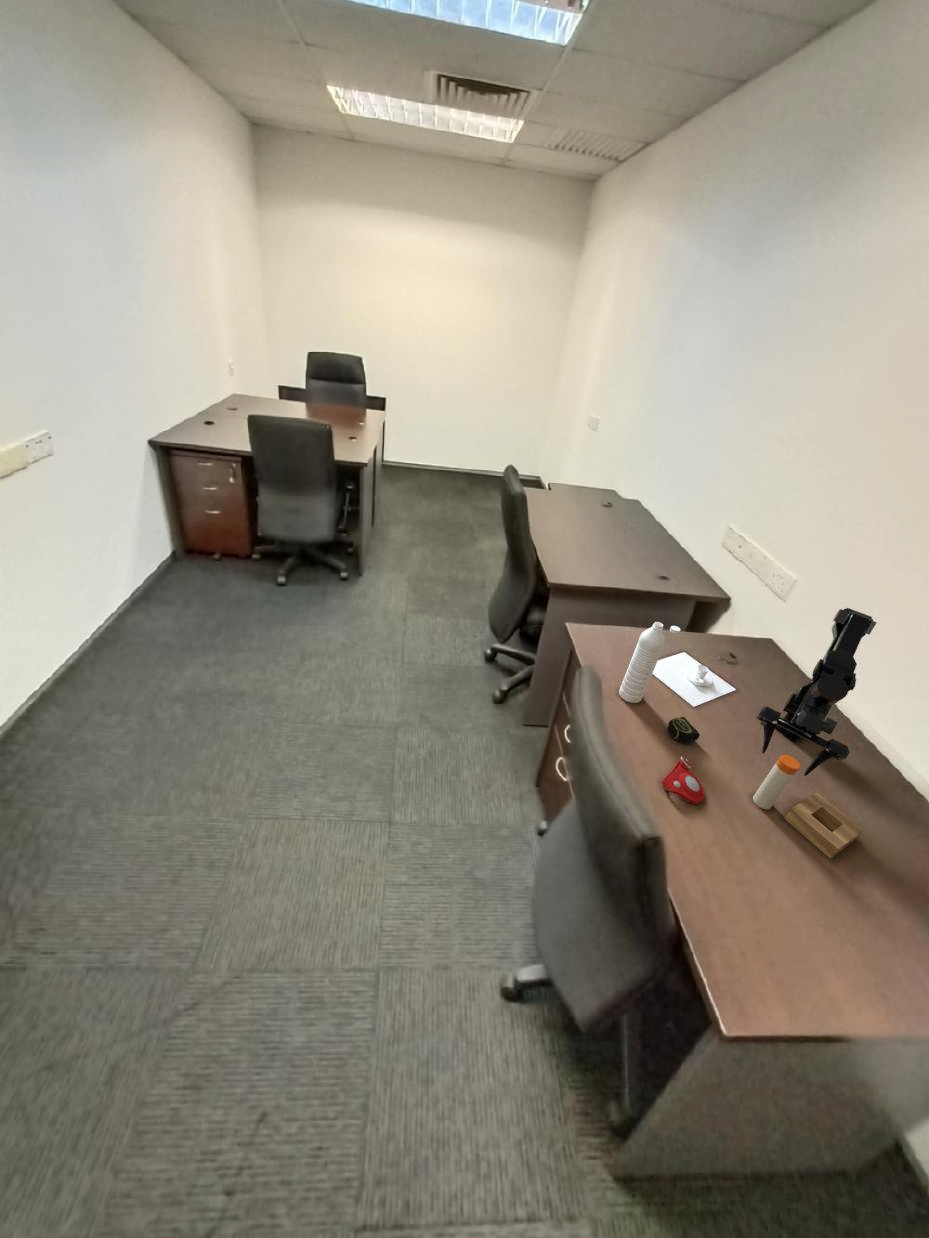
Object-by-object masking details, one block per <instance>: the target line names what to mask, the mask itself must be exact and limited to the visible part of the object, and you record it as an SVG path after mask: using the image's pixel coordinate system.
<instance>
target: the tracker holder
mask: <svg viewBox="0 0 929 1238" xmlns="http://www.w3.org/2000/svg"><path fill="white" fill-rule="evenodd" d="M689 770H691V762H690V761H689V760H688V758H684V757H683V756H682V755H681V756H680V760H678V762H677V763H676V764H675V766H674V767H673V768H672V770H671V771H670V772H668V774H667V775H666V776H665V777H664V778H663V779H662V780H661V783H662V786H663V788H664V790H665V792H666V791H667V792H670V793H673V794H675V795H677V796H678V797H679V798H681V799H683V800H685V801H687V802H688V803H690V804H693V805H697V804H699V803H701V802H703V800H704V798H705V790H704V787H703V785H702V783H701V781H700V780H699V779H698V778H697V776H695V774H693V773H692V772H691V771H689Z"/></svg>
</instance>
